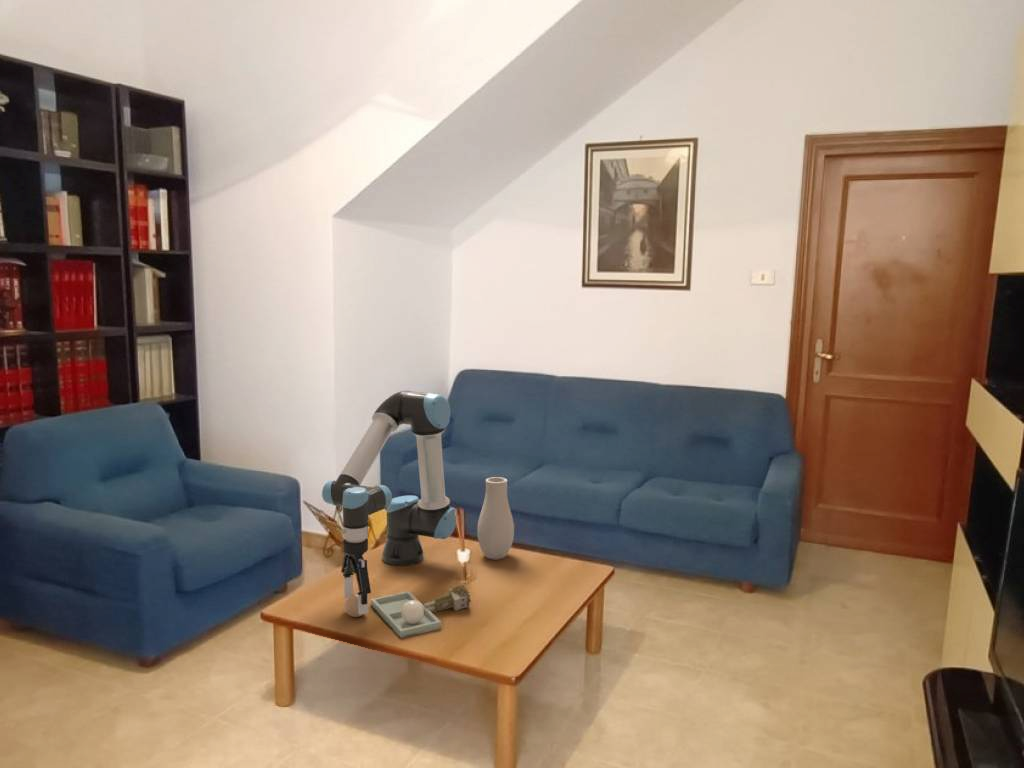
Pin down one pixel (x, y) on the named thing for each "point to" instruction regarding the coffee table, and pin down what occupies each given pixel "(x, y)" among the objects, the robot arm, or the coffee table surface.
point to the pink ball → (352, 605)
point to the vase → (495, 520)
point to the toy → (451, 600)
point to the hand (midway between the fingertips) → (355, 605)
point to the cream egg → (412, 611)
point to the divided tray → (391, 614)
